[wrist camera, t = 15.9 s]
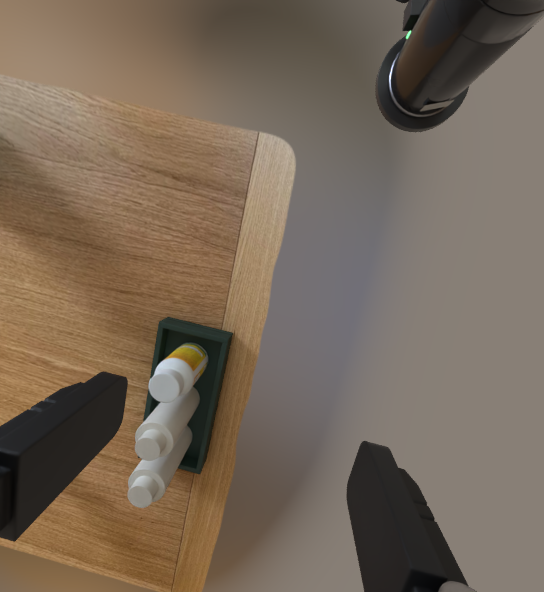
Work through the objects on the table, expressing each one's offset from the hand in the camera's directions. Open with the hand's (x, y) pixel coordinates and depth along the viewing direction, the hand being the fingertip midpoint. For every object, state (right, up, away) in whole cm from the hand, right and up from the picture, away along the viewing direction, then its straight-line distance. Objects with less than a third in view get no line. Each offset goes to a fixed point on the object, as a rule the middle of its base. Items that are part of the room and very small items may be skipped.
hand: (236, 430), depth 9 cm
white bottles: (-14, -15, +36) cm, 42 cm away
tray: (-13, -11, +36) cm, 40 cm away
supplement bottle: (-11, -5, +34) cm, 37 cm away
